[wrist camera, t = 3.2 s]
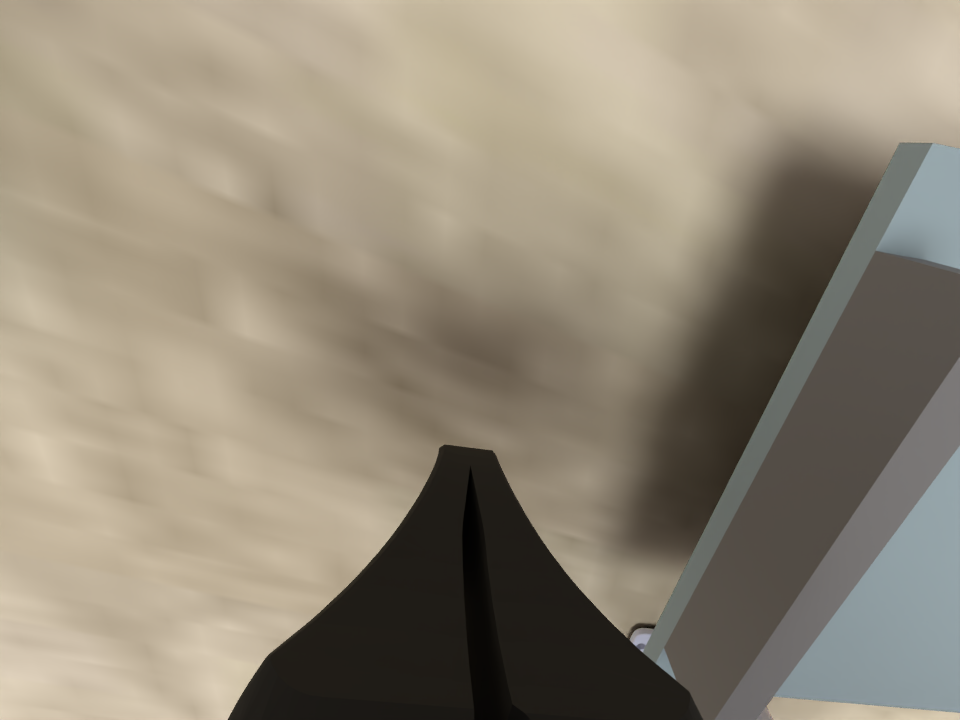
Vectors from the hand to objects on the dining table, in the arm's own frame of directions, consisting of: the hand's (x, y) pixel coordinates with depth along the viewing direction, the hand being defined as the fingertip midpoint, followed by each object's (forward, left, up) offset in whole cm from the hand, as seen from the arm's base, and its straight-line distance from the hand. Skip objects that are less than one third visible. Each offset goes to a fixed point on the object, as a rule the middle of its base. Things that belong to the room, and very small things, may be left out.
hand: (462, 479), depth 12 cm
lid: (0, -15, -2) cm, 16 cm away
